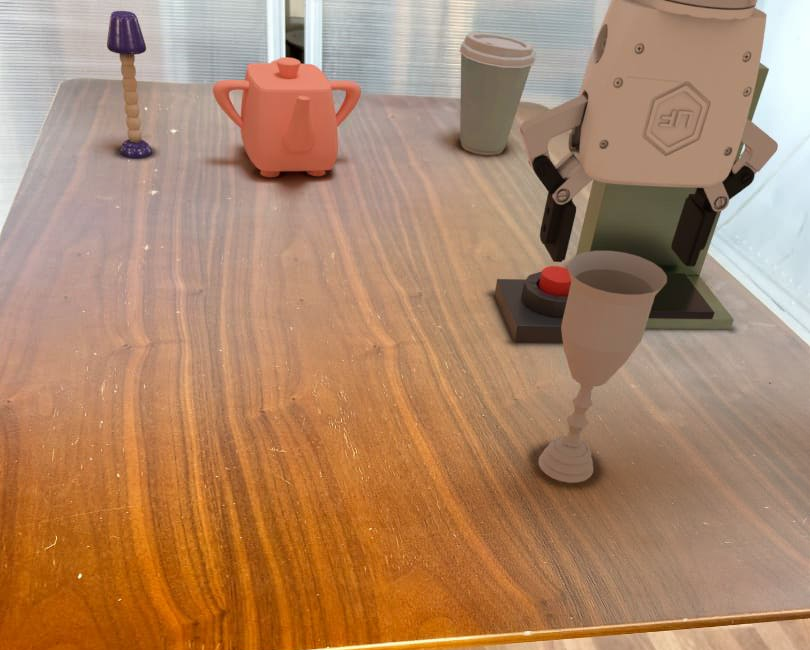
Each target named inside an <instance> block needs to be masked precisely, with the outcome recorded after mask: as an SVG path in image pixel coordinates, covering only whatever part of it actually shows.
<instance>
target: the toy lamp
mask: <svg viewBox="0 0 810 650" xmlns="http://www.w3.org/2000/svg"><path fill="white" fill-rule="evenodd" d="M106 47H107V49H108V51H109V52H111V53H115V54H118V55H119V60H120V63H121V65H120V72H121V75H122V80H121V82H122V88H123V100H124V102H125V104H124V111H125V115H126V119H125V120H126V121H125V122H126V126H127V128H128V129H127V138H128V139H126V140H124V141H123V143H121V146H120V148H119V154H120V156H122V157H124V158H127V159H133V160H135V159H136V160H138V159H146V158H150V157H151V156H153V154H154V153H153V149H152V146H150V144H149V143H148V142H147V141H145V140H144V139H142V137H143V135H142V130H141V119H140V117H139V116H140V112H141V111H140V106H139V104H138V102H139V94H138V92H137V88H138V82H137V78H136V74H137V71H136V69H137V68H136V66H135V60H136V58H135V55H141V54H143V53H145V52H146V51H147V46H146V42H145V38H144V35H143V33H142V29H141V24H140V21H139V20H138V17H137V15H136V13H134V12H133V11H127V10H114V11H112V12H111V13H110V17H109V25H108V32H107V40H106Z"/></svg>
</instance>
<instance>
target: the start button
mask: <svg viewBox="0 0 810 650" xmlns="http://www.w3.org/2000/svg"><path fill="white" fill-rule="evenodd" d="M540 272H541V277H540V282H539V289H540V290H541V291H543V292H545V293H547V294H551V295H554V296H568V294H569V290H570V286H571V278H570V274H569V271H568V267H567V268H566V267H563V266H560V265H559V266H558V265H552V266H551V265H550V266H546V267H544V268H543V269H542V270H541V271H540Z"/></svg>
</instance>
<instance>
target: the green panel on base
mask: <svg viewBox="0 0 810 650" xmlns="http://www.w3.org/2000/svg"><path fill="white" fill-rule="evenodd" d="M769 71H770V68H769V67H768V66H766V65H765V64H763V63H762V62H760V65H759V70H758V75H757V80H756V85H755V89H754V93H753V98H752V102H751V106H750V109H749V113H748V117H747V118H748V119H749V120H750V121H751V122H753V119H754V115H755V113H756V110H757V107H758V103H759V100H760V98H761V95H762V92H763V89H764V86H765V83H766V80H767V77H768V74H769ZM744 146H745V144H744V143H743V142H742V141H741V142H740V146H739V149H738V152H737V155H736V158H735V161H737V160H738V159H739V158H740V155H741V154H742V152H743V148H744ZM735 161H734V162H735ZM591 183H592V184H591V187H590V192H589V196H588V201H587V205H586V209H585V214H584V219H583V223H582V226H581V231H580V236H579V240H578V245H577V248H576V253H575V256H576V255H579V254H581V253H584V252H591V251H615V252H623V253H628V254H631V255H635V256H639V257H641V258H644V259H646V260H648V261H651V262H653V263H654V264H656V265H657V266H658V267H660V268H661V269H662V270H663V271H664V273H665V274H666V275H667V283H666V284H665V285H664V286H663V288H662V289H661V290H660V291H659V292H658V293H657V294H656V295H655V298H654V301H653V304H652V307H651V311H650V314H649V317H648V321H647V324H646V327H645V330H731V328H732V326H733V323H734V320H735V319H734V318H733V316H732V314H730V313H729V311H728V310H727V309H726V308H725V306H724V305H723V304H722V302H721V301H720V300H719V299H718V297H717V296H716V295H715V294H714V292H713V291H712V290H711V288H710V287H709V285H708V284H706V282H705V281H704V280H703V278H702V277H701V273H702V270H703V267H704V263H705V261H706V258H707V255H708V252H709V249H710V246H711V244H712V240H713V237H714V234H715V231H716V228H717V225H718V223H719V219H720V216H721V213H722V211H719V212H717V214H716V217H715V220H714V223H713V226H712V229H711V232H710V235H709V238H708V240H707V243H706V246H705V248H704V249H703V250H701V251H700V254H699V257H698V260H697V263H696V265H695V266H694V267H692V266H686V265H685V264H683V262H682V261H681V260H680V259H679V257H678V256H677V255H676V254H675V252H674V251H673V250H672V248H671V244H672V241H673V238H674V235H675V231H676V228H677V225H678V222H679V219H680V216H681V213H682V209H683V206H684V203H685V200H686V198H688V196H689V194H695V192H696V188H684V187H662V186H642V185H623V184H610V183H603V182H599V181H596V180H594V179H592V182H591Z"/></svg>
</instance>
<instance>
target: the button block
mask: <svg viewBox="0 0 810 650" xmlns="http://www.w3.org/2000/svg"><path fill="white" fill-rule="evenodd" d="M541 272H542V271H538V272H534V273H532V274H529V275H528V276H527V277H526V278H525V279H524V278H523V279H521V278H520V279H518V278H497V279H496V282H495V290H494V297H495V300H496V302H497V305H498V307H499V310H500V312H501V314H502V317H503V320H504V321H505V324H506V326H507V329H508V331H509V333H510V335H511V338H512V340H513V342H514V343H522V344H524V343H527V344H528V343H529V344H531V343H533V344H535V343H537V344H541V343H542V344H563V339H562V331H561V326H562V320H563V316H564V312H565V307H566V303H567V299H568V296H554V295H551V294H547V293H545V292H543V291H541V290H540V289H539V282H540V277H541Z"/></svg>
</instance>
